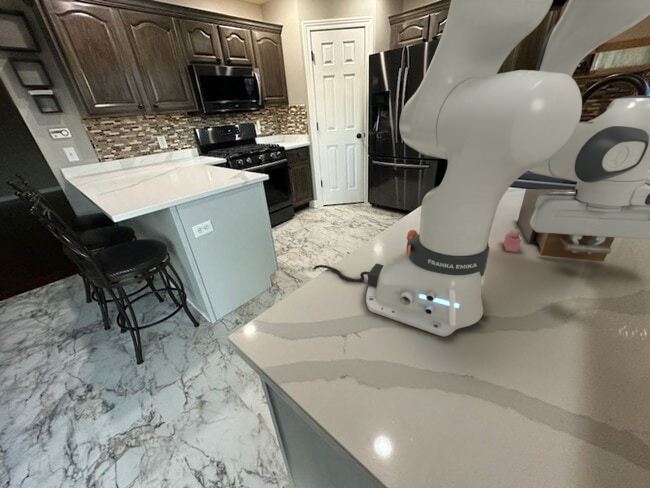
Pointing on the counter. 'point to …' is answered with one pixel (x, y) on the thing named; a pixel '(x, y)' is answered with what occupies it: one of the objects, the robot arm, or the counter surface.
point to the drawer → (572, 246)
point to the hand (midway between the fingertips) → (580, 252)
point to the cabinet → (529, 213)
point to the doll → (512, 240)
